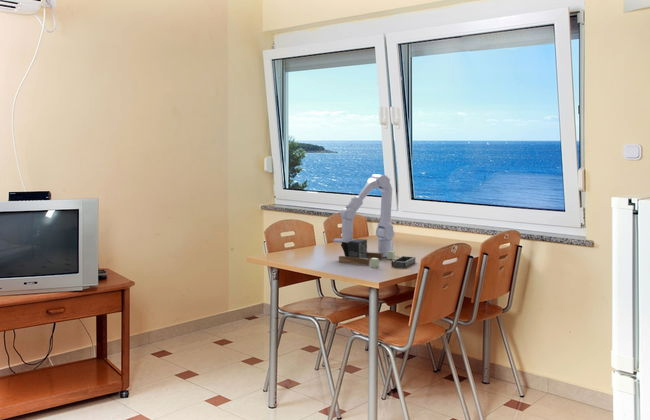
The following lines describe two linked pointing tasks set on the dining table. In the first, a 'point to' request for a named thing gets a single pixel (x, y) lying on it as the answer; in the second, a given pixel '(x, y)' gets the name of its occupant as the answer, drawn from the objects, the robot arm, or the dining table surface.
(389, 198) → the robot arm
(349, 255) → the small box
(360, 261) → the walnut tunnel rails
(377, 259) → the sage goal posts
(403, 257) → the black pit tray
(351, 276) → the dining table surface
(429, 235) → the dining table surface
